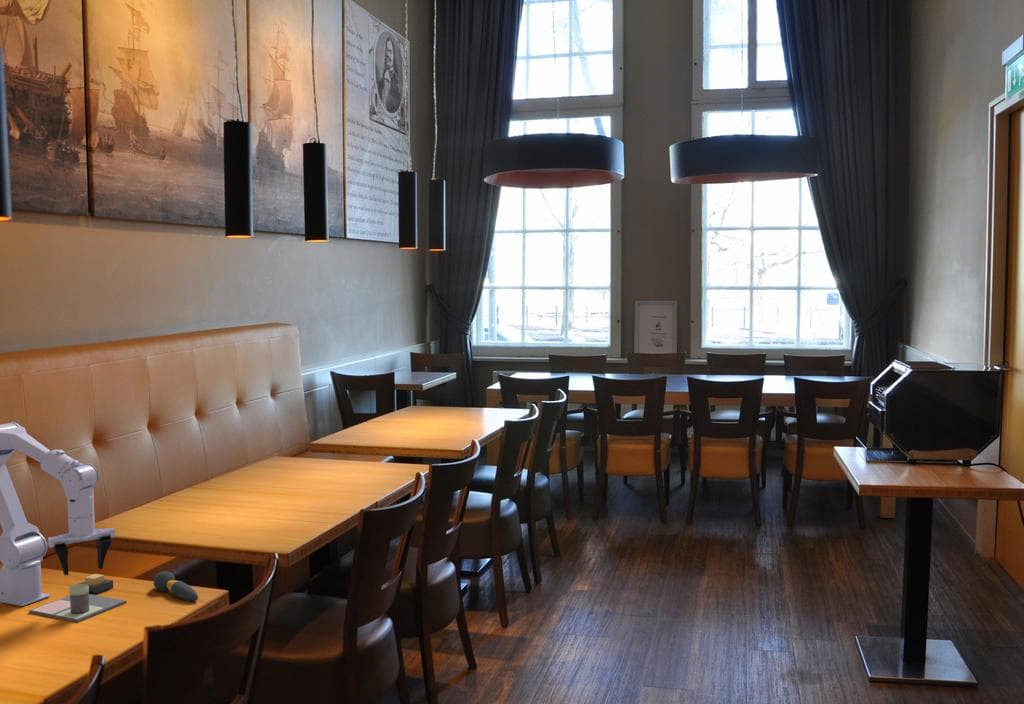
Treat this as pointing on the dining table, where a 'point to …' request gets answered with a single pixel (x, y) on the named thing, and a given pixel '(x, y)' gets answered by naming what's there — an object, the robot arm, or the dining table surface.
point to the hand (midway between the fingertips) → (83, 570)
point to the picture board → (63, 611)
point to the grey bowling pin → (174, 586)
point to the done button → (94, 579)
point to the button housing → (100, 587)
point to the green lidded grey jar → (79, 598)
